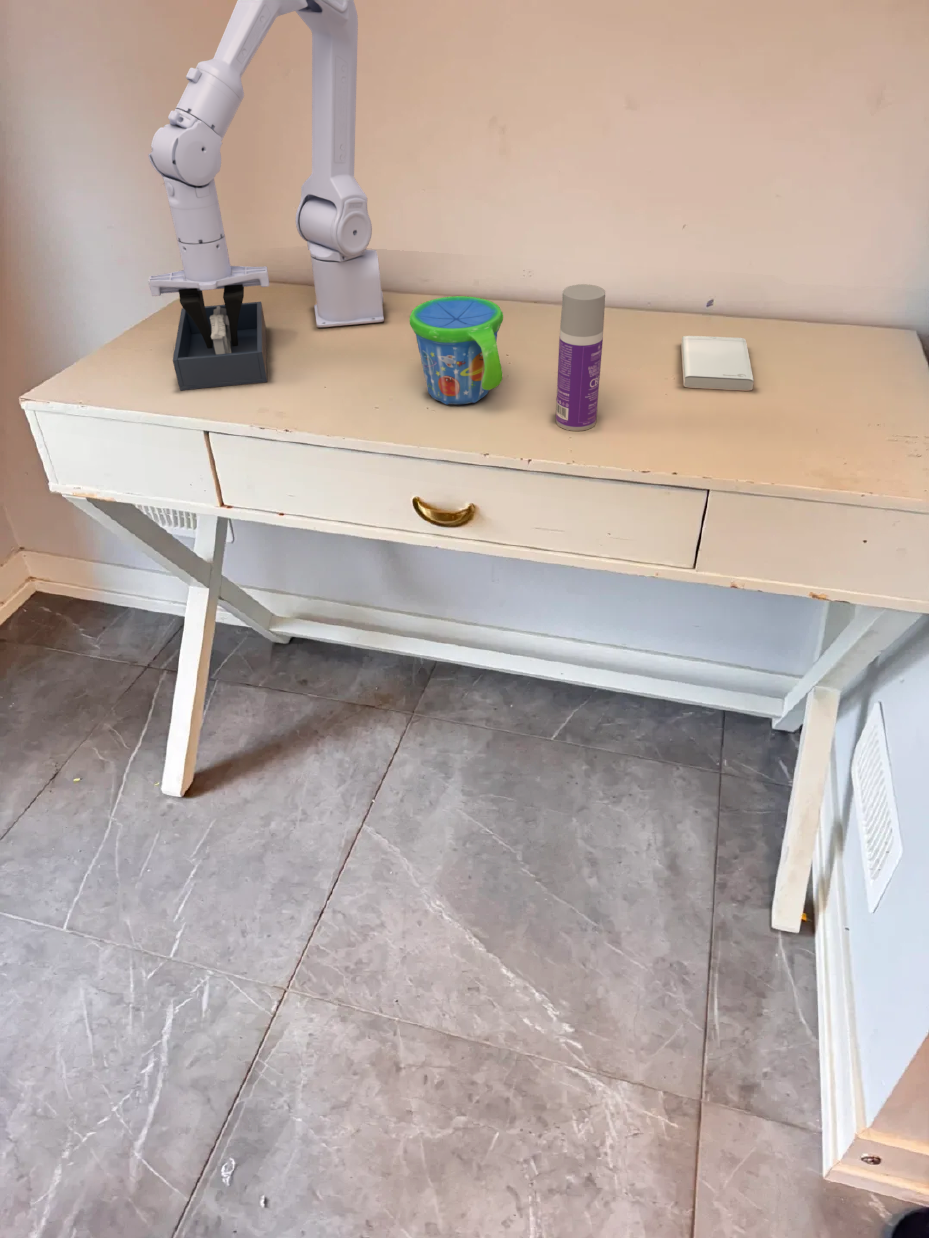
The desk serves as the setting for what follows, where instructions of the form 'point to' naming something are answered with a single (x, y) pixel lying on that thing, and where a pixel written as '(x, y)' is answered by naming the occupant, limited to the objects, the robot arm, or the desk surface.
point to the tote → (218, 370)
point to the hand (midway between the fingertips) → (222, 344)
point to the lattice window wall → (220, 331)
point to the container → (579, 356)
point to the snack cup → (458, 347)
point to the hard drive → (716, 363)
